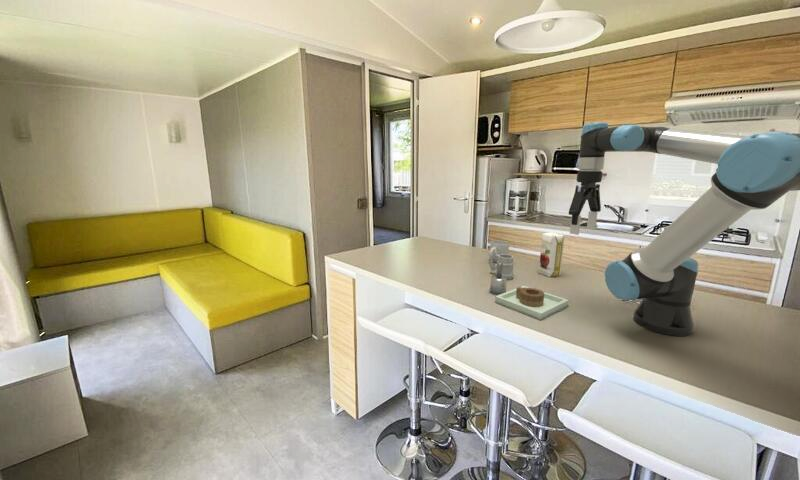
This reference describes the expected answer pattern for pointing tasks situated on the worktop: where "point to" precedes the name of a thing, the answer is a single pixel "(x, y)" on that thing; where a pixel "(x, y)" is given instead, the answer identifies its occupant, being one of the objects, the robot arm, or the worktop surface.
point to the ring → (530, 296)
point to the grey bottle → (498, 282)
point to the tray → (548, 308)
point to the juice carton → (551, 254)
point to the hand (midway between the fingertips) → (582, 231)
